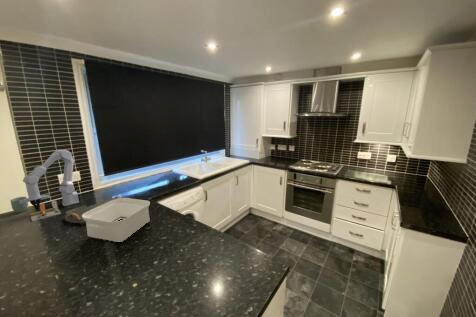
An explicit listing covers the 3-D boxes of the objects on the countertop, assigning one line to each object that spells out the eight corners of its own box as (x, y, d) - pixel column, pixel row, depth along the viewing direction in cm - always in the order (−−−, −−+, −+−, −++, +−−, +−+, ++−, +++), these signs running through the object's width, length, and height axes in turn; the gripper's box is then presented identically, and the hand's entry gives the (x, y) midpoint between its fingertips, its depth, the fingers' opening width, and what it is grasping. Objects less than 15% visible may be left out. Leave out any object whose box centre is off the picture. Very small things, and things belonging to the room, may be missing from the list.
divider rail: (57, 207, 148) (56, 200, 146) (60, 212, 141) (58, 204, 140) (30, 214, 137) (28, 206, 136) (31, 219, 130) (29, 211, 129)
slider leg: (45, 210, 143) (43, 202, 141) (47, 215, 136) (45, 207, 135) (40, 211, 141) (39, 204, 140) (42, 216, 134) (40, 208, 133)
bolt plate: (59, 210, 144) (58, 209, 144) (60, 213, 139) (60, 212, 139) (31, 217, 133) (30, 216, 133) (31, 221, 128) (31, 220, 128)
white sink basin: (117, 251, 100) (113, 226, 97) (75, 243, 106) (70, 219, 103) (158, 219, 132) (156, 199, 129) (124, 214, 139) (121, 195, 136)
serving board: (78, 229, 121) (76, 220, 119) (59, 220, 130) (57, 212, 129) (133, 204, 155) (132, 197, 154) (115, 199, 165) (114, 193, 163)
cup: (20, 213, 138) (17, 201, 136) (10, 213, 138) (6, 200, 136) (32, 209, 146) (29, 196, 144) (22, 208, 146) (19, 196, 144)
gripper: (47, 187, 143) (50, 204, 146) (17, 193, 132) (22, 211, 135) (48, 190, 138) (51, 207, 141) (18, 195, 128) (22, 214, 130)
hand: (37, 209), depth 138 cm, fingers closed
